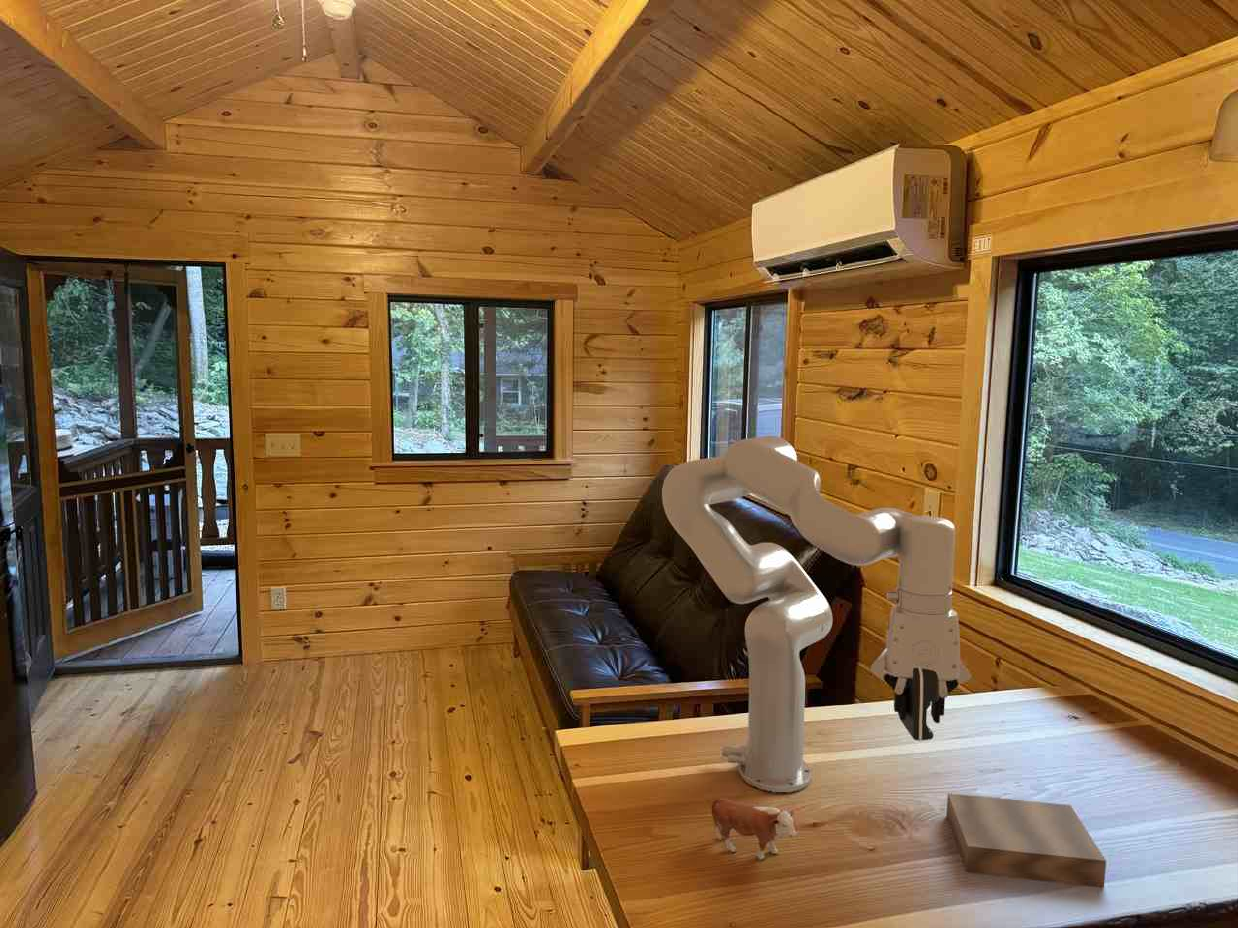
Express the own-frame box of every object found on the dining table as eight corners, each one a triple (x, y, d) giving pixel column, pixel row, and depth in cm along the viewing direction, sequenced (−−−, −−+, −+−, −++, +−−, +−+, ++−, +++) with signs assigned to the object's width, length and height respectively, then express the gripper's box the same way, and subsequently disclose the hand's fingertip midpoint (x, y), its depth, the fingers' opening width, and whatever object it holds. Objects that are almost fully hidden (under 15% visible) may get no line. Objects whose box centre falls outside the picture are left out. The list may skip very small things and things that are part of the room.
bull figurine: (792, 875, 115) (793, 822, 114) (706, 845, 122) (707, 795, 121) (802, 859, 119) (804, 807, 117) (719, 830, 126) (719, 781, 125)
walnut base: (966, 871, 116) (968, 845, 115) (946, 816, 129) (947, 793, 129) (1103, 887, 112) (1106, 860, 112) (1068, 828, 126) (1070, 804, 125)
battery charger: (941, 742, 118) (942, 668, 117) (914, 743, 119) (915, 668, 117) (924, 720, 125) (925, 650, 124) (899, 721, 125) (900, 650, 124)
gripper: (867, 605, 117) (862, 724, 120) (991, 611, 114) (983, 734, 117) (862, 590, 125) (858, 702, 127) (978, 596, 121) (972, 711, 124)
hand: (918, 716), depth 122 cm, fingers closed on battery charger, 4 cm apart
